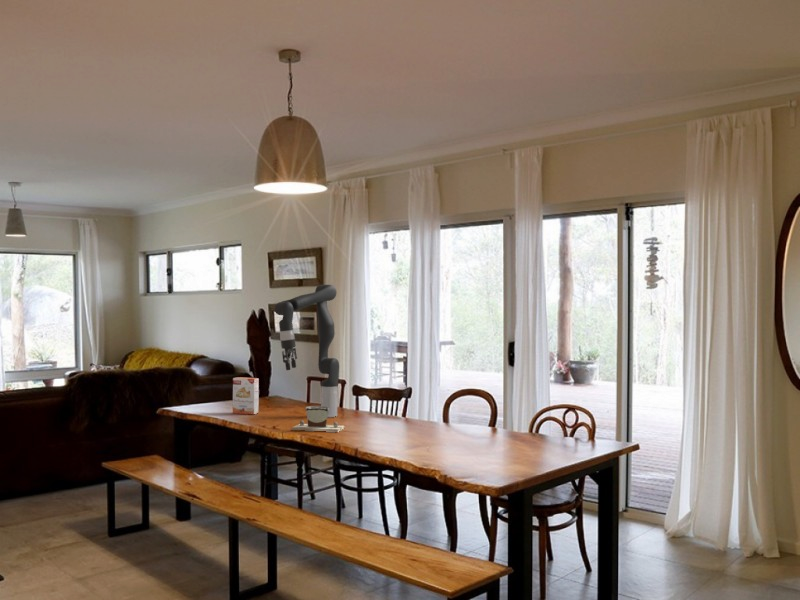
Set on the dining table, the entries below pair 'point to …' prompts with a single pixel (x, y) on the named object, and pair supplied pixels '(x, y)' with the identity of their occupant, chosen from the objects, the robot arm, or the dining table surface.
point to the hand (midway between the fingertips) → (291, 368)
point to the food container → (317, 416)
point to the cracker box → (245, 395)
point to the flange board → (328, 427)
